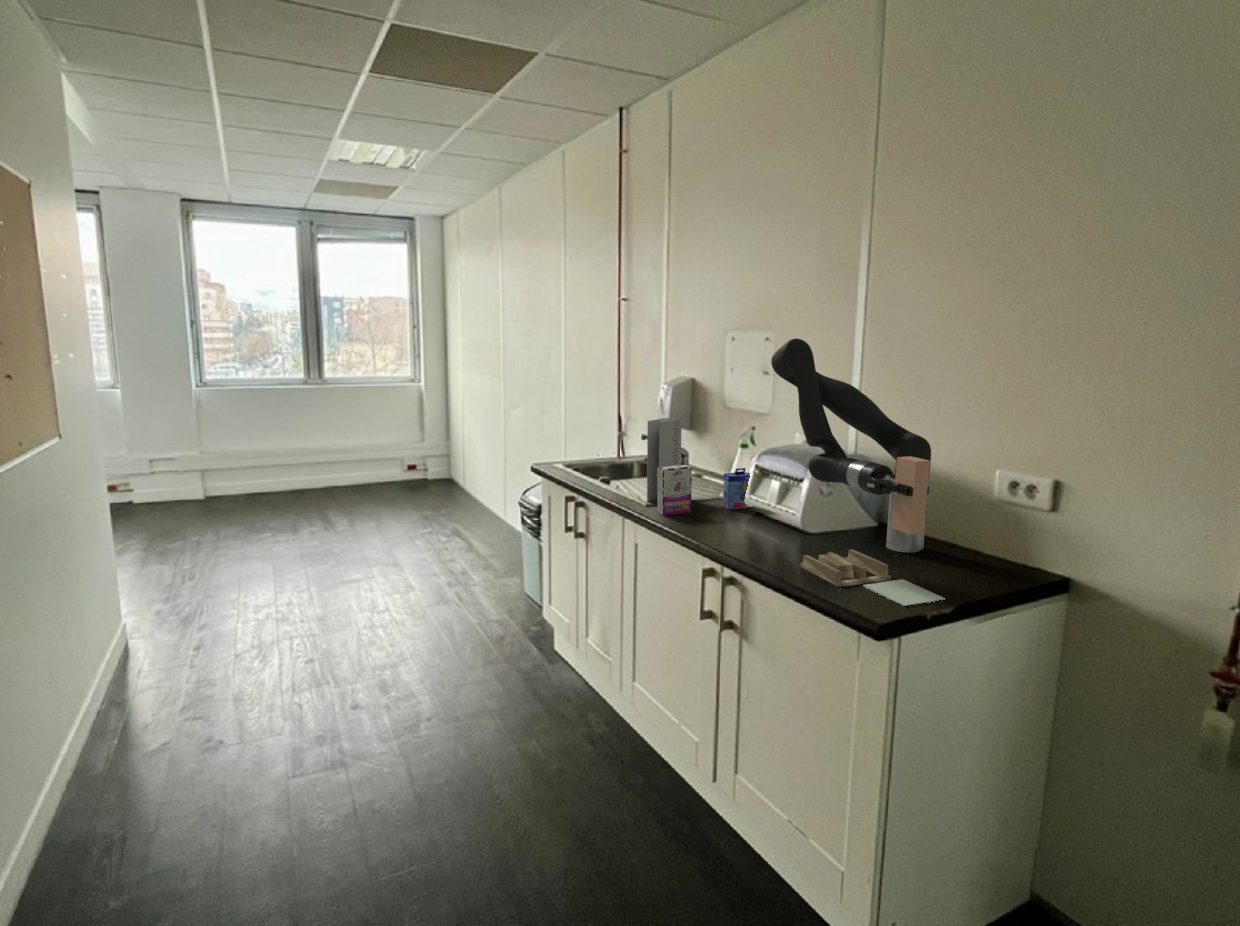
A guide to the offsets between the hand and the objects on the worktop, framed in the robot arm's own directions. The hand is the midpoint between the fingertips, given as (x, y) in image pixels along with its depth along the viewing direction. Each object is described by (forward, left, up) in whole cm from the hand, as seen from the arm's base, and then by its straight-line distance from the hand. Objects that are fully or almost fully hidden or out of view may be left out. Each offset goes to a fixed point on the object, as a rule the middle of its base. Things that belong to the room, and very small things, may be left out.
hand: (919, 491), depth 160 cm
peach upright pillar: (0, -3, -10) cm, 10 cm away
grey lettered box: (+14, -112, -26) cm, 116 cm away
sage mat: (0, -3, -25) cm, 26 cm away
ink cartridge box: (-6, -92, -26) cm, 95 cm away
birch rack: (+4, -20, -25) cm, 32 cm away
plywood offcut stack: (+7, -20, -26) cm, 33 cm away
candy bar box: (+19, -92, -26) cm, 97 cm away
